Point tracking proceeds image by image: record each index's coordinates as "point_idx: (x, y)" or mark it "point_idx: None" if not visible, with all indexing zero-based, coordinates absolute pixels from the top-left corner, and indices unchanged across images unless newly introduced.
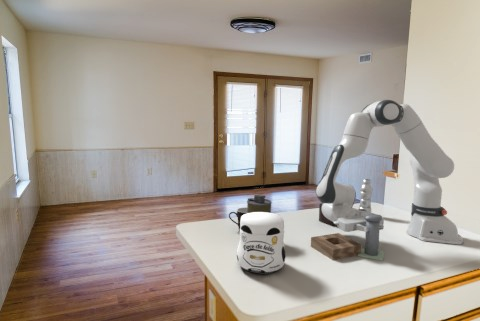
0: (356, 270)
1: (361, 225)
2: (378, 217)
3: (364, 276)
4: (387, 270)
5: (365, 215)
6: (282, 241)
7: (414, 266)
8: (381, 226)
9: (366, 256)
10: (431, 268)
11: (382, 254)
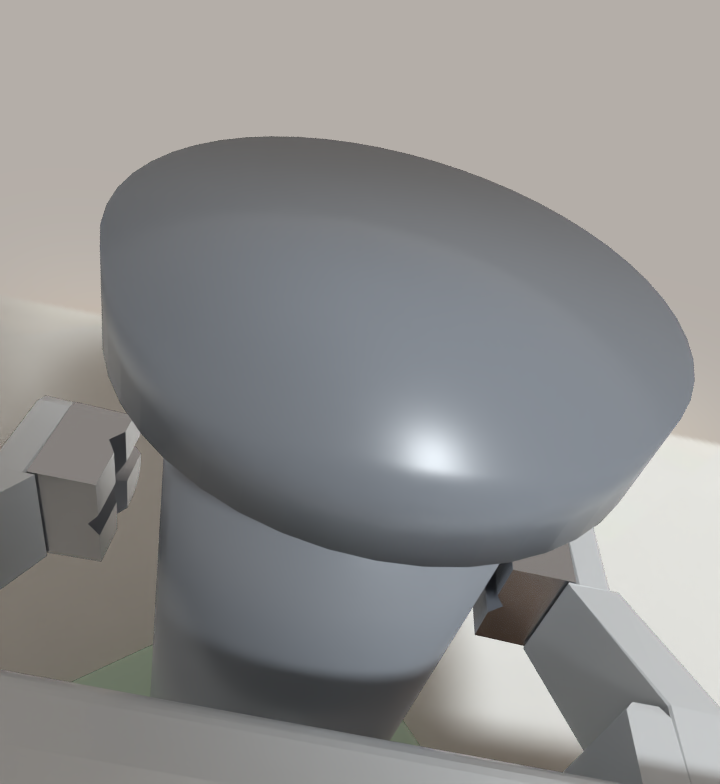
0: (700, 605)
1: (625, 651)
2: (383, 172)
3: (681, 516)
4: None
5: (630, 411)
6: None
7: None
8: (121, 415)
9: (404, 740)
10: (87, 326)
11: (150, 663)
